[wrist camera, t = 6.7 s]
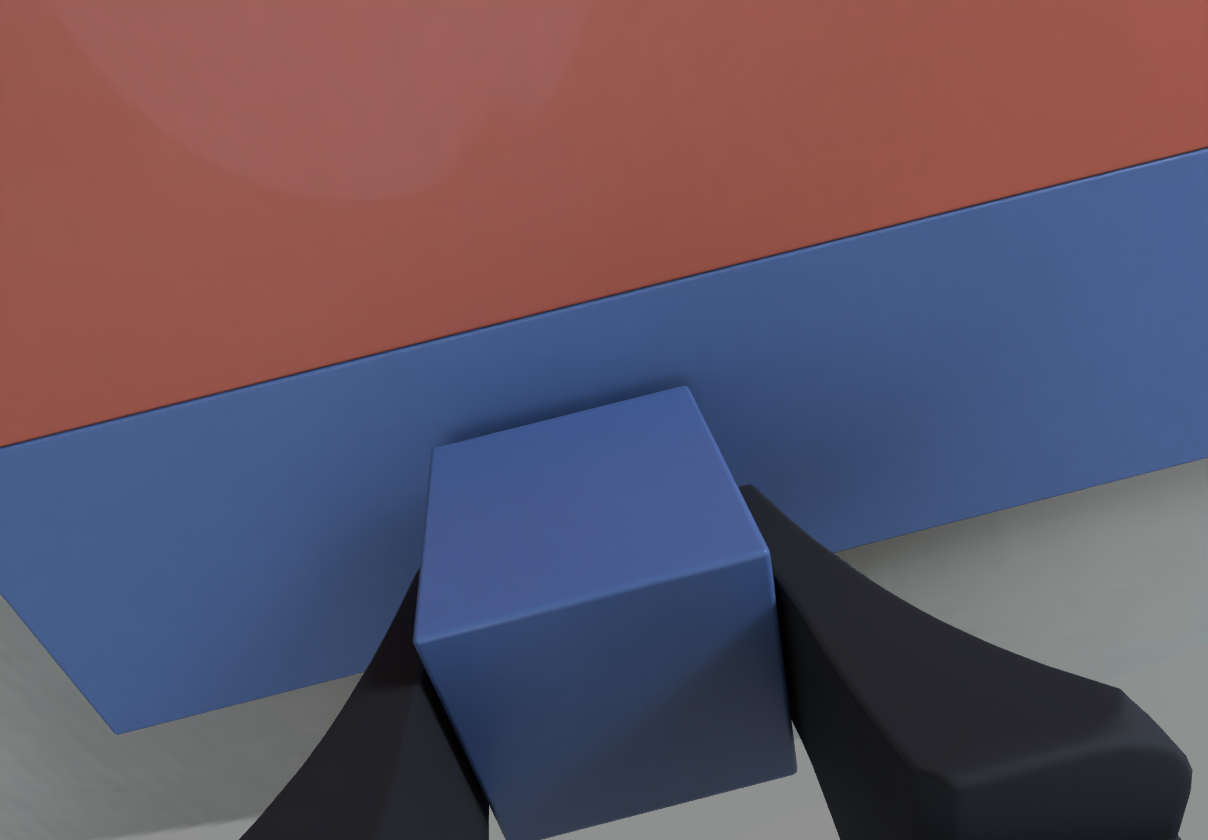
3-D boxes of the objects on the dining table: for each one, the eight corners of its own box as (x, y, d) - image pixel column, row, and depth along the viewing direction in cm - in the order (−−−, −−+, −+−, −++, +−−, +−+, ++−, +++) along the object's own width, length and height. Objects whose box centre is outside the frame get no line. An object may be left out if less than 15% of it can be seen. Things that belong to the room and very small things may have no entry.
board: (1852, 275, 18) (1892, 285, 17) (126, 713, 17) (115, 736, 17) (2471, -678, 11) (2569, -709, 10) (-427, 14, 10) (-476, 16, 10)
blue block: (721, 576, 16) (799, 775, 12) (501, 632, 16) (508, 850, 12) (687, 382, 14) (772, 550, 10) (429, 447, 14) (409, 642, 10)
